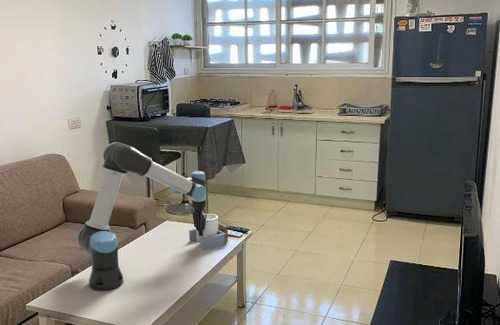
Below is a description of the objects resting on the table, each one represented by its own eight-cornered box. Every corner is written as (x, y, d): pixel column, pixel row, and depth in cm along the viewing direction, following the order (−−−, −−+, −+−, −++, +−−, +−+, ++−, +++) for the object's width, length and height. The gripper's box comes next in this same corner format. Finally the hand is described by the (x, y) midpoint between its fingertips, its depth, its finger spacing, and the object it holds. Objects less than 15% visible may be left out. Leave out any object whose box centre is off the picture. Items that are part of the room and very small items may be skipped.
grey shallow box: (204, 249, 262) (203, 239, 261) (189, 240, 275) (189, 230, 274) (226, 243, 270) (226, 233, 269) (210, 234, 283) (210, 225, 282)
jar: (218, 245, 268) (217, 219, 265) (199, 245, 268) (198, 219, 265) (218, 238, 279) (218, 213, 275) (200, 238, 278) (200, 213, 275)
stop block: (224, 242, 273) (224, 226, 271) (214, 236, 282) (214, 221, 280) (227, 241, 274) (227, 226, 272) (217, 235, 283) (217, 220, 281)
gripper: (210, 201, 261) (211, 242, 266) (198, 195, 271) (199, 235, 276) (198, 203, 257) (199, 245, 262) (186, 197, 267) (187, 238, 272)
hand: (199, 240), depth 269 cm, fingers closed
